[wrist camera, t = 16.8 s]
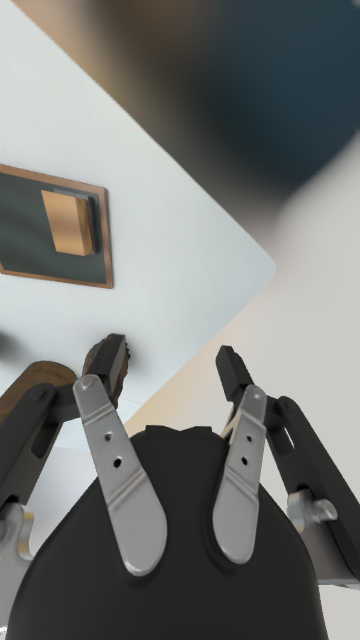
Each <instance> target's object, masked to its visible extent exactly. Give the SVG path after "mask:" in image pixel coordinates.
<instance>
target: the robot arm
mask: <svg viewBox="0 0 360 640" xmlns="http://www.w3.org/2000/svg"><path fill="white" fill-rule="evenodd" d="M125 351H126V342H125V335H121V334H115V335H114V336H113V339H112V340H106V341H105V342H103V343H102V344H101V346H100V347H99V349H98V351H97V353H96V356H95V357H94V359H93V360H92V362H91V364H90V366H89V368H88V370H87V372H86V373H85V375H84V376H82V377H80V378H79V379H77V380H76V382H74V383H71V384H66V385H62V386H57V387H55V386H54V385H53V384H52V383H48V382H45V383H40V384H37V385H35V386H33V387H31V388H29V389H28V390H27V391H26V392H25V393H24V394H23V395H22V397H21V398H20V399H19V401H18V402H17V403H16V405H15V406H14V407H13V409H12V410H11V411H10V413H9V414H8V415H7V417H6V418H5V419H4V421H3V422H2V423H1V425H0V635H1V634H4V633H6V638H5V640H329V638H328V634H327V630H326V626H325V622H324V617H323V612H322V606H321V600H320V593H319V587H318V585H336V586H340V587H345V588H350V589H356V590H360V504H359V502H358V501H357V499H356V498H355V496H354V494H353V493H352V491H351V489H350V488H349V486H348V485H347V483H346V481H345V480H344V478H343V476H342V475H341V473H340V472H339V470H338V468H337V467H336V465H335V464H334V462H333V460H332V459H331V457H330V456H329V454H328V453H327V451H326V449H325V448H324V446H323V444H322V443H321V442H320V440H319V438H318V436H317V435H316V433H315V432H314V430H313V428H312V427H311V425H310V423H309V422H308V420H307V419H306V417H305V416H304V414H303V412H302V411H301V409H300V408H299V406H298V405H297V404H296V402H294V401H293V400H292V399H290V398H289V397H286V396H281V397H280V398H279V399H276V398H273V397H270V396H267V395H266V394H265V392H264V391H263V390H262V389H261V388H260V387H258V386H256V385H255V384H254V382H253V380H252V378H251V377H250V374H249V372H248V370H247V369H246V366H245V364H244V362H243V360H242V358H241V357H240V356H239V355H238V354H237V353H235V352H234V350H233V348H232V347H231V346H225V345H222V346H221V348H220V350H219V352H218V355H217V357H216V366H217V370H218V373H219V376H220V379H221V383H222V386H223V389H224V393H225V396H226V399H227V401H230V402H233V404H234V405H233V407H232V409H231V412H230V414H229V417H228V420H227V423H226V425H225V428H224V430H223V432H222V434H221V436H219V435H218V434H216V433H214V432H212V428H211V427H209V426H207V427H205V426H203V427H202V426H195V427H193V428H189V429H185V430H182V431H178V430H175V429H172V428H169V427H166V426H158V425H146V429H145V430H144V431H141V432H139V433H137V434H135V435H133V436H132V437H131V438H128V435H127V433H126V431H125V429H124V427H123V424H122V422H121V420H120V418H119V416H118V414H117V411H116V409H115V407H114V406H113V405H112V404H111V402H110V400H109V398H108V396H107V395H112V393H113V390H114V387H115V384H116V381H117V378H118V375H119V371H120V368H121V365H122V362H123V359H124V356H125ZM79 417H81V419H82V424H83V427H84V431H85V434H86V437H87V441H88V444H89V448H90V451H91V454H92V457H93V461H94V464H95V468H96V471H97V474H98V476H97V478H96V479H95V480H94V481H93V483H92V484H91V485H90V486H89V487H88V489H87V490H86V491H85V492H84V494H83V495H82V496H81V497H80V499H79V500H78V501H77V502H76V503H75V505H74V506H73V507H72V508H71V510H70V511H69V512H68V513H67V515H66V516H65V517H64V518H63V520H62V521H61V522H60V523H59V524H58V526H57V527H56V528H55V530H54V531H53V532H52V533H51V534H50V536H49V537H48V538H47V539H46V541H45V542H44V543H43V545H42V546H41V547H40V549H39V550H38V552H37V553H36V555H35V556H34V557H33V556H32V555H31V554H30V551H29V537H30V533H31V529H32V526H33V521H34V515H33V511H32V510H31V509H30V508H29V507H26V504H27V502H28V500H29V498H30V495H31V493H32V491H33V489H34V487H35V484H36V482H37V480H38V478H39V476H40V473H41V471H42V469H43V467H44V465H45V462H46V460H47V458H48V456H49V454H50V451H51V449H52V447H53V445H54V443H55V440H56V438H57V436H58V434H59V432H60V429H61V427H62V425H63V423H64V422H66V421H69V420H73V419H76V418H79ZM284 428H286V430H287V431H288V433H289V435H290V438H291V440H292V442H293V444H294V448H293V446H292V444H291V442H290V440H289V437H288V435H287V433H286V431H285V429H284ZM265 437H266V439H267V441H268V444H269V447H270V449H271V452H272V454H273V457H274V459H275V462H276V465H277V467H278V470H279V472H280V475H281V478H282V480H283V483H284V485H285V488H286V491H287V493H288V500H287V505H288V508H287V514H288V517H289V518H288V517H287V516H286V515H285V513H284V512H283V511H282V510H281V508H280V507H279V506H278V505H277V503H276V502H275V501H274V500H273V498H272V497H271V496H270V495H269V493H268V492H267V491H266V490H265V488H264V487H263V486H262V485H261V483H260V482H259V480H260V473H261V465H262V458H263V451H264V444H265ZM289 519H290V520H291V521H290V520H289Z"/></svg>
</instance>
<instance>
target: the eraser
mask: <svg viewBox="0 0 360 640" xmlns="http://www.w3.org/2000/svg"><path fill="white" fill-rule="evenodd" d="M41 192H42V196H43V200H44V204H45V208H46V212H47V216H48V220H49V224H50V228H51V232H52V236H53V239H54V243H55V247H56V251H57V252H63V253H69V254H75V255H82V256H85V255H88V254H92V255H96V254H98V249H97V240H96V232H95V223H94V214H93V206H92V197H90V196H86V195H81V194H77V193H72V192H68V191H63V190H58V189H54V192H49V191H44V190H41Z"/></svg>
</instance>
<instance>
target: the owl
mask: <svg viewBox="0 0 360 640" xmlns="http://www.w3.org/2000/svg"><path fill="white" fill-rule="evenodd" d="M114 335H115V334H110V335H108V336H107V338H106V339H103V340H102V341H101V342H100V343H99V344H96V345H94V346H93V348H92V349H91V350H90V351H89V353H88V354H87V356H86V358H85V363H84V366H83V372H82V376H84V375H85V373H86V372H87V370H88V368H89V366H90V364H91V362H92V360H93V359H94V357H95V356H96V353H97V351H98V349H99V347H100V346H101V344H102V343H103V342H105V341H106V340H112V339H113V336H114ZM128 351H129V349H128V348H127V343H126V351H125V356H124V359H123V362H122V365H121V368H120V371H119V375H118V378H117V381H116V384H115V387H114V390H113V393H112V395H107V396H108V398H109V400H110V402H111V404H112V405H113V406H114V407H115V409H117V407H118V398H119V396H120V394H121V392H122V389H123V380H124V378H125V376H126V375H127V370H128V360H129V358H130V354H129V353H128Z"/></svg>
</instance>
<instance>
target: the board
mask: <svg viewBox="0 0 360 640" xmlns="http://www.w3.org/2000/svg"><path fill="white" fill-rule="evenodd" d="M54 189H58V190H63V191H68V192H72V193H77V194H81V195H86V196H90V197H92V206H93V214H94V223H95V232H96V240H97V249H98V254H96V255H92V254H88V255H85V256H82V255H75V254H69V253H63V252H57V251H56V247H55V243H54V239H53V236H52V232H51V228H50V224H49V220H48V216H47V212H46V208H45V204H44V200H43V196H42V192H41V190H44V191H49V192H54ZM0 272H1V274H6V275H13V276H20V277H27V278H35V279H42V280H49V281H57V282H64V283H71V284H79V285H86V286H93V287H101V288H108V289H112V288H113V277H112V263H111V248H110V234H109V220H108V205H107V191H106V189H105V188H103V187H98V186H94V185H89V184H85V183H81V182H76V181H72V180H67V179H63V178H59V177H54V176H50V175H46V174H41V173H37V172H32V171H28V170H24V169H19V168H15V167H11V166H6V165H2V164H0Z"/></svg>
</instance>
